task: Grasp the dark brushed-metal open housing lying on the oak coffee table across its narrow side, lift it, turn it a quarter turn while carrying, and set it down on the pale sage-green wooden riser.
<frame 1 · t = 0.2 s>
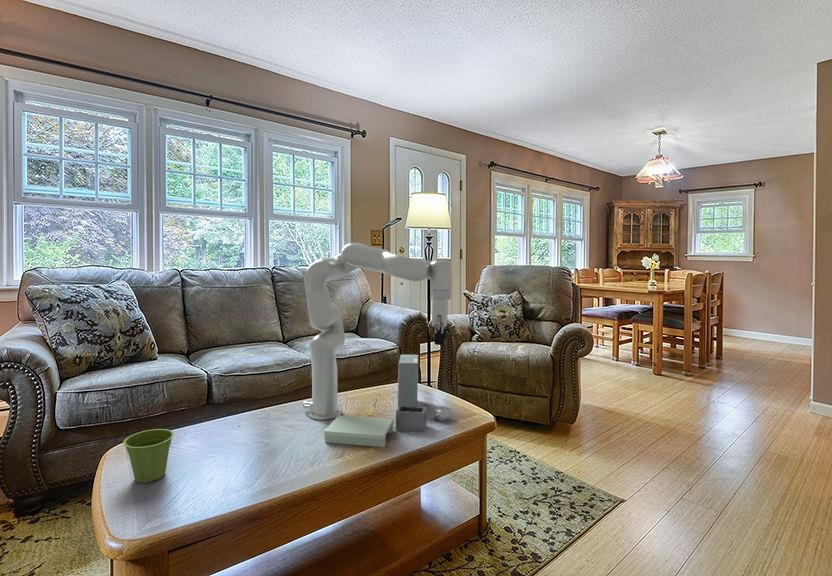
hand: (440, 341, 156), 30 cm above the table, fingers open, 9 cm apart
plant pot: (150, 477, 119), on the table
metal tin: (442, 419, 162), on the table
housing: (411, 428, 154), on the table
riser: (359, 436, 147), on the table
hard drive box: (408, 407, 176), on the table
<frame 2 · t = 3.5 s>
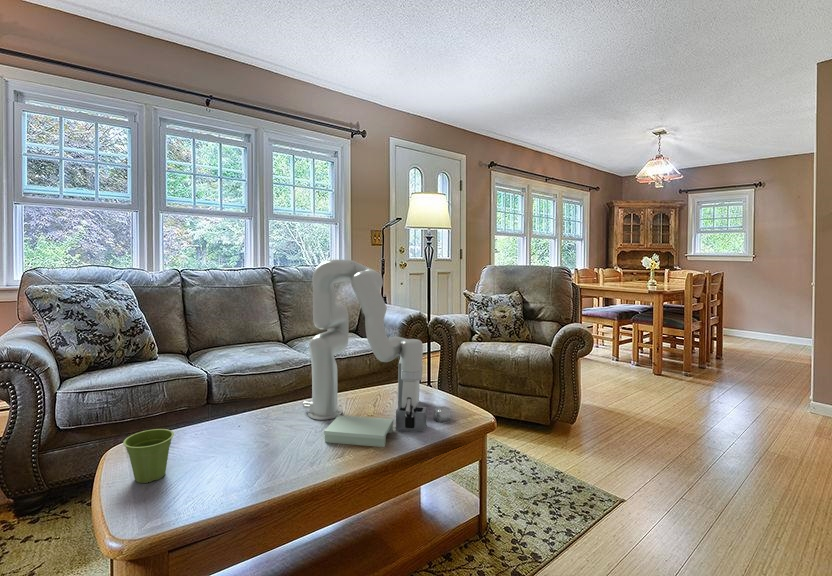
hand: (411, 423, 154), 2 cm above the table, fingers closed on housing, 6 cm apart
housing: (411, 428, 154), on the table, touching gripper
everything else where it was.
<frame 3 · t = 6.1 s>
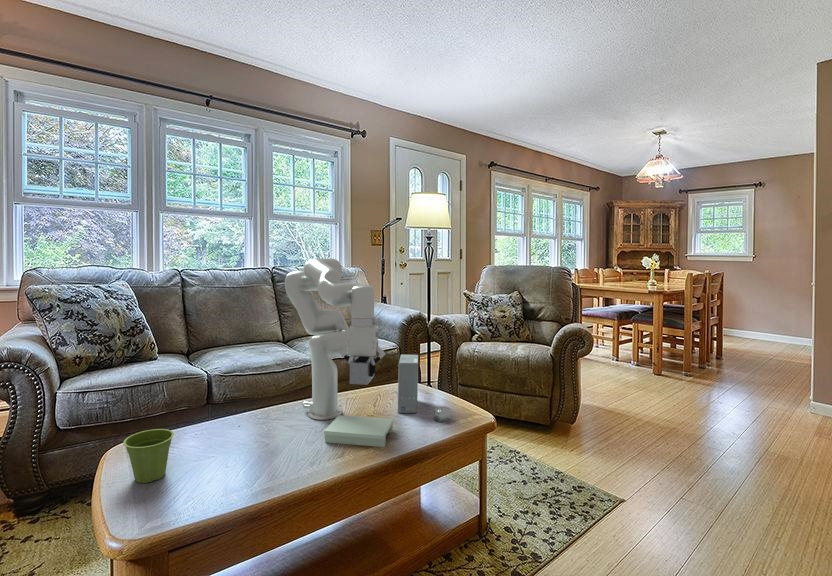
hand: (362, 374, 146), 21 cm above the table, fingers closed on housing, 6 cm apart
housing: (362, 379, 146), point 19 cm above the table, touching gripper
everything else where it was.
when the fingers open (6 cm above the table, at t = 8.8 s): housing stays where it is, resting on riser.
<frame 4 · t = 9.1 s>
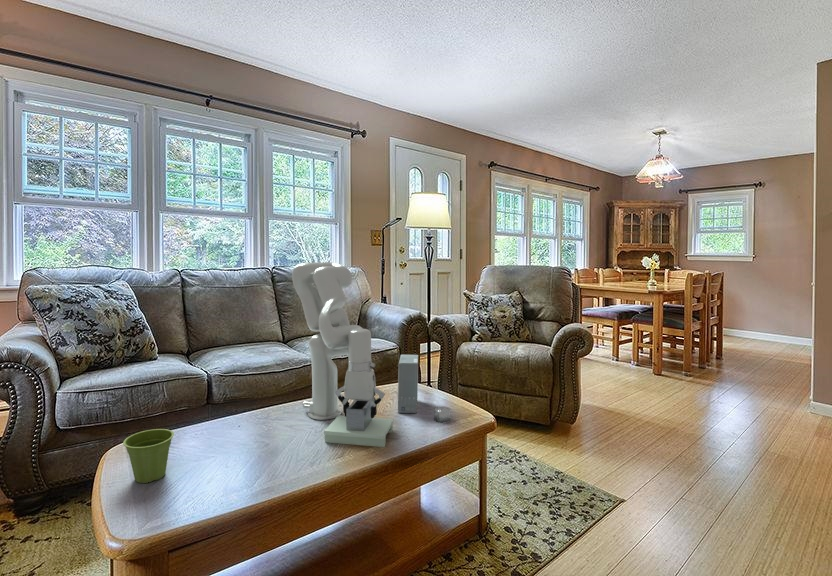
hand: (359, 415, 146), 7 cm above the table, fingers open, 8 cm apart
housing: (359, 424, 147), point 4 cm above the table, touching riser
everything else where it was.
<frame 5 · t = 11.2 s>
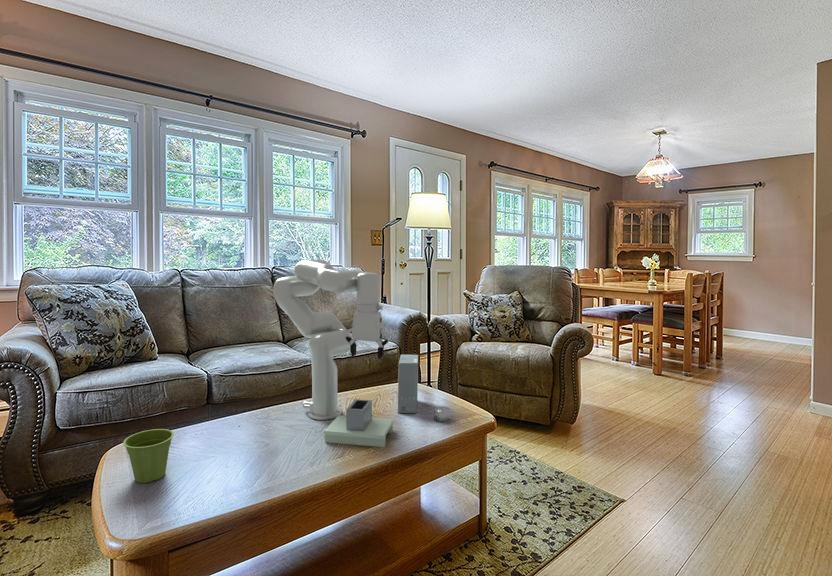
hand: (366, 356, 151), 26 cm above the table, fingers open, 9 cm apart
nothing on the table moved.
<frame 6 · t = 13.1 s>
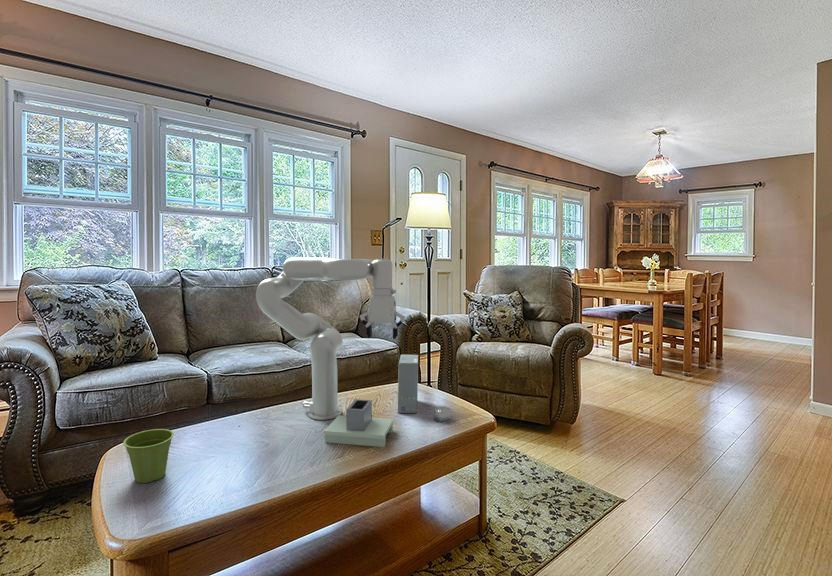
hand: (382, 337, 163), 30 cm above the table, fingers open, 9 cm apart
nothing on the table moved.
at the end: housing inside the target area on the riser (0.1 cm from its centre), point 4.0 cm above the riser's base; housing tilted 0°; the gripper is holding nothing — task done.
